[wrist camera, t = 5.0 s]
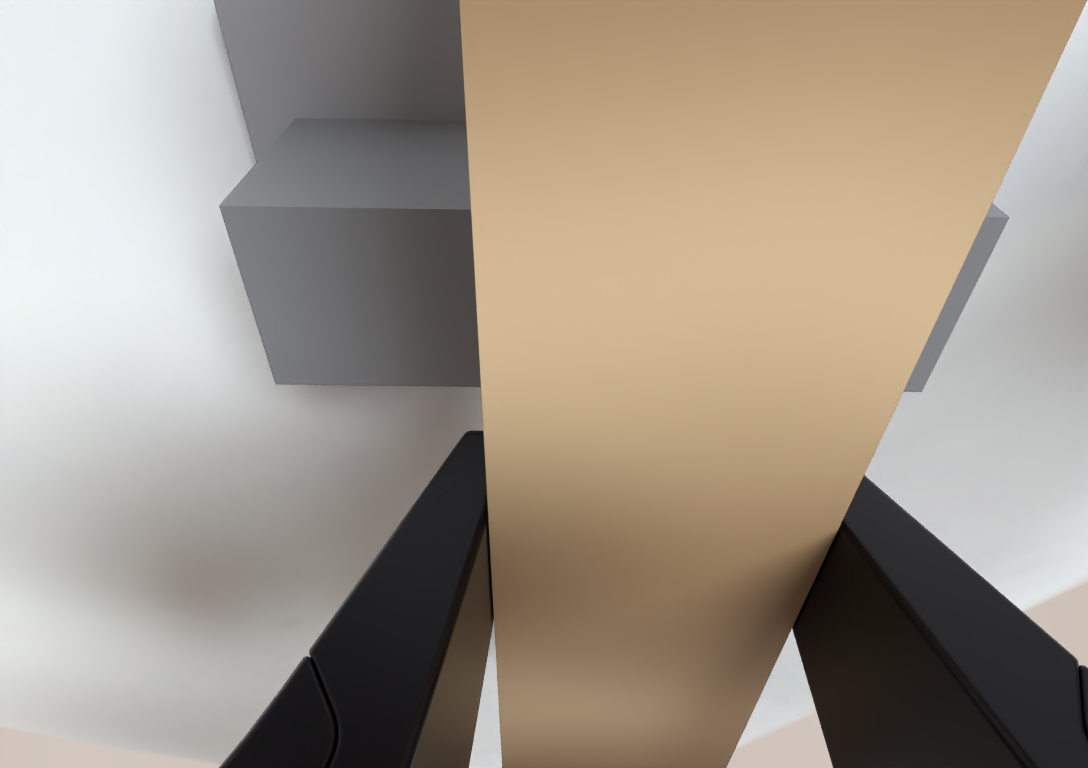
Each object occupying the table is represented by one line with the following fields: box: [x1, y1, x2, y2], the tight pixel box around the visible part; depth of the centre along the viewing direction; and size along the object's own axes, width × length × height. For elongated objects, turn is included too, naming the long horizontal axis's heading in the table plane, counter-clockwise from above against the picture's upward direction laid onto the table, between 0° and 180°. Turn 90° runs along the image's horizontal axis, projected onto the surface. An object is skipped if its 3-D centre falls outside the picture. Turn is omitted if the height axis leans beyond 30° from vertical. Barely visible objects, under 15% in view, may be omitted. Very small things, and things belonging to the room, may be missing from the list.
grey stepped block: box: [214, 0, 1009, 392], centre depth 13 cm, size 14×8×5 cm, turn 89°
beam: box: [459, 0, 1087, 768], centre depth 9 cm, size 20×4×4 cm, turn 179°
